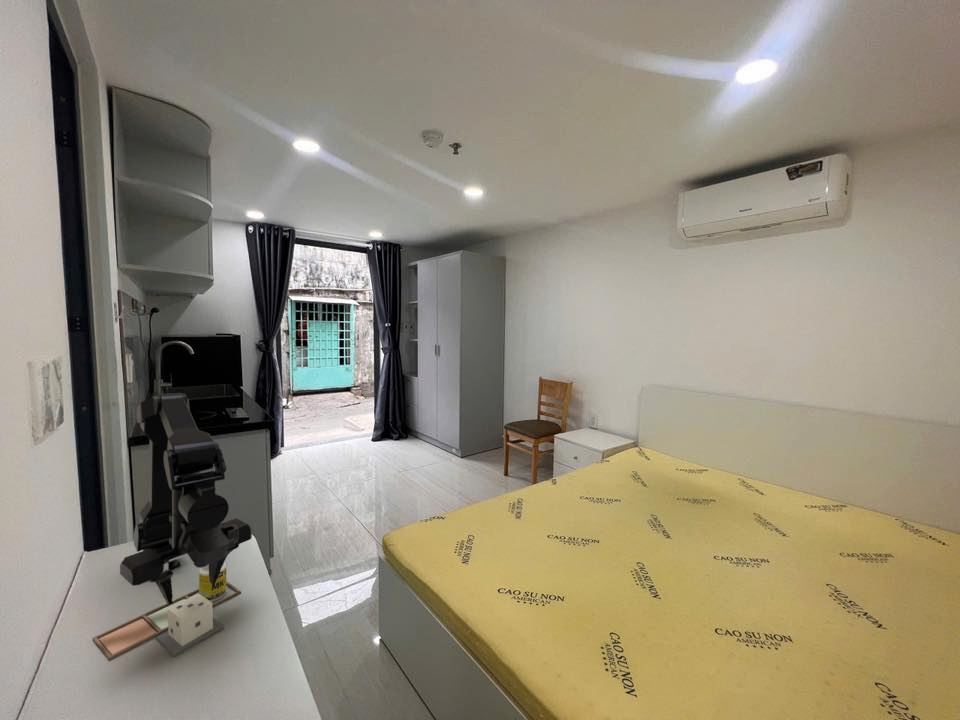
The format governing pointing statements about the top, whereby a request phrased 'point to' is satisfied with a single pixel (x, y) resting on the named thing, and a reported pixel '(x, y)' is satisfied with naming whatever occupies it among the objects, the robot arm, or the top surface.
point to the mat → (176, 648)
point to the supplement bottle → (207, 588)
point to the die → (190, 619)
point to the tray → (142, 628)
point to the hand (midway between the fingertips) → (191, 593)
